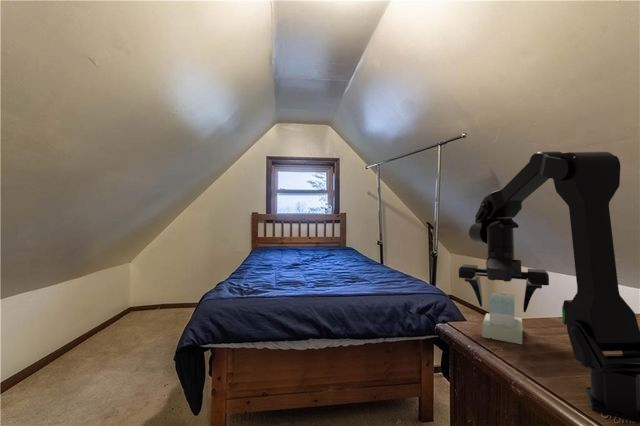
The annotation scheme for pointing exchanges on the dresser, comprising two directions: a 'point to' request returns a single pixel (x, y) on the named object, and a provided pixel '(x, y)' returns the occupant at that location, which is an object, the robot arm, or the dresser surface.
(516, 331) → the sage stand
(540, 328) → the dresser surface
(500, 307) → the grey-blue rectangular block
